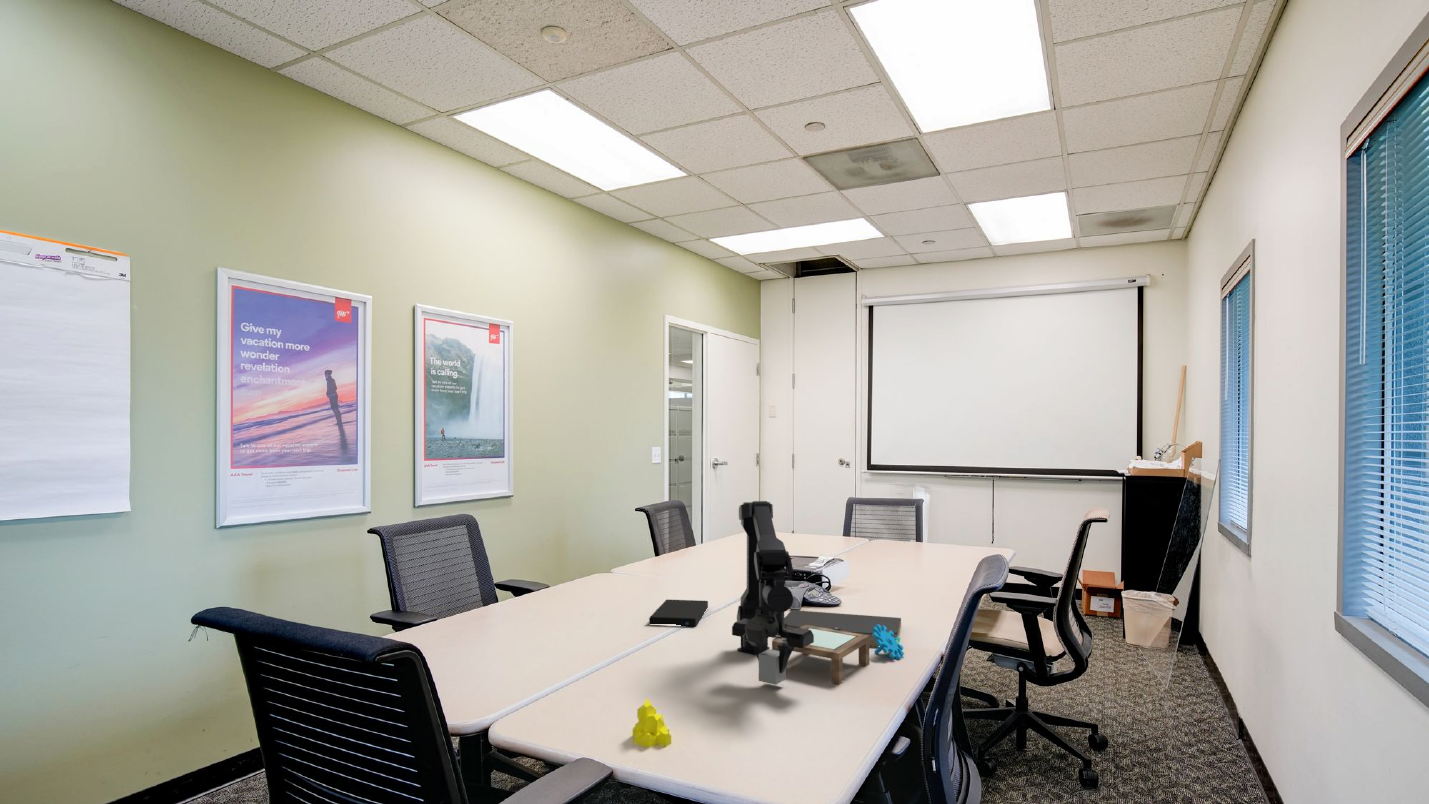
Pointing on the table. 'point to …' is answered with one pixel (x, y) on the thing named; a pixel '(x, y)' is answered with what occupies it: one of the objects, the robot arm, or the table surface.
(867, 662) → the frame
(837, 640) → the trapdoor
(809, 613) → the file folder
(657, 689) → the table surface
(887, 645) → the gear
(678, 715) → the table surface
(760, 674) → the stone block
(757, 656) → the robot arm
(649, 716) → the yellow lumpy pyramid
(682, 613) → the external hard drive
